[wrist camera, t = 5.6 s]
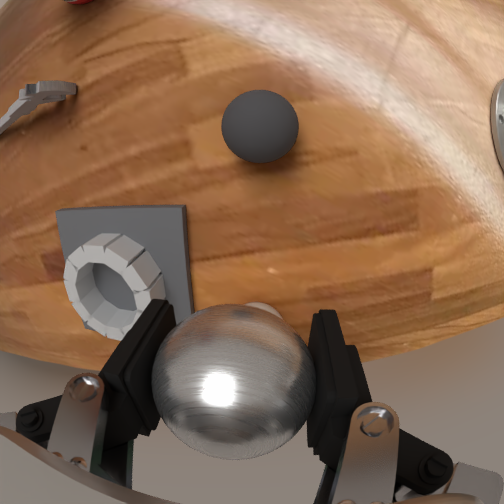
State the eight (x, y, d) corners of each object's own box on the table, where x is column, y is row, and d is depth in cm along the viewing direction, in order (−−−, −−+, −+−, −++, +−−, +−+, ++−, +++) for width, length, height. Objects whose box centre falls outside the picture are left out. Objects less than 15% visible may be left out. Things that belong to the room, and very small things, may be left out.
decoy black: (296, 98, 18) (302, 84, 13) (294, 162, 20) (300, 167, 15) (228, 97, 18) (214, 83, 13) (228, 160, 20) (214, 165, 15)
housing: (185, 204, 21) (167, 217, 18) (198, 341, 27) (188, 368, 23) (61, 208, 22) (35, 220, 19) (89, 323, 28) (72, 343, 24)
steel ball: (318, 278, 9) (347, 401, 4) (301, 379, 11) (305, 483, 6) (171, 270, 9) (97, 372, 5) (187, 370, 11) (153, 465, 7)
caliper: (80, 83, 18) (35, 76, 12) (80, 93, 18) (34, 88, 12) (-16, 141, 20) (-48, 148, 14) (-15, 148, 20) (-48, 156, 15)
